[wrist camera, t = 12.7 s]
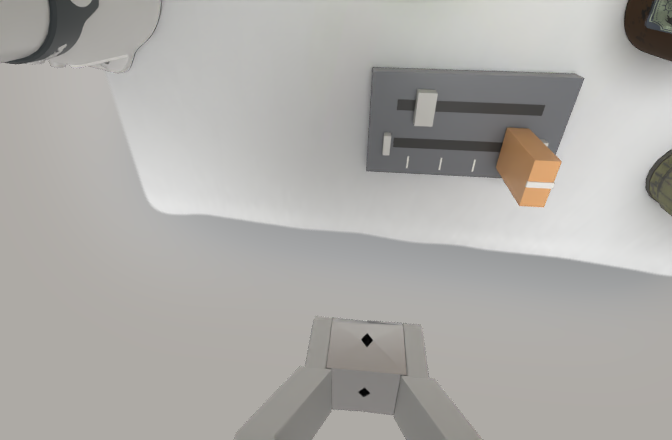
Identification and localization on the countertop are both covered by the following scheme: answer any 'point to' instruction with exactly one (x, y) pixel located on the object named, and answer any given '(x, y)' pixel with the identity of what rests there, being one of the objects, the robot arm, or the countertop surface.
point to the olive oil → (650, 26)
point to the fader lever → (527, 167)
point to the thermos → (661, 182)
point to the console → (461, 117)
